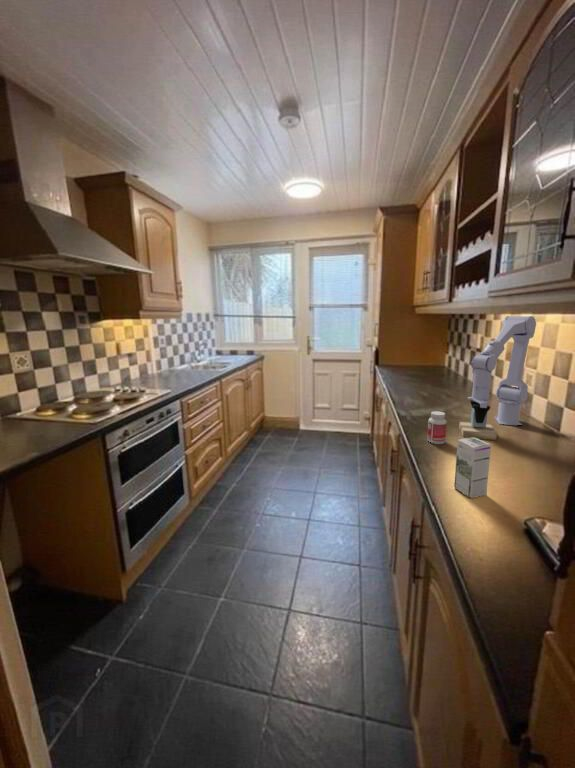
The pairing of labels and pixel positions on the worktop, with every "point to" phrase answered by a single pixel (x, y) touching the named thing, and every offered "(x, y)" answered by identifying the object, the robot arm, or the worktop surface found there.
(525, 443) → the worktop surface
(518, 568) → the worktop surface
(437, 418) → the pill bottle
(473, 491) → the syrup box
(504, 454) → the worktop surface
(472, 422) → the blue block
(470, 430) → the birch base
